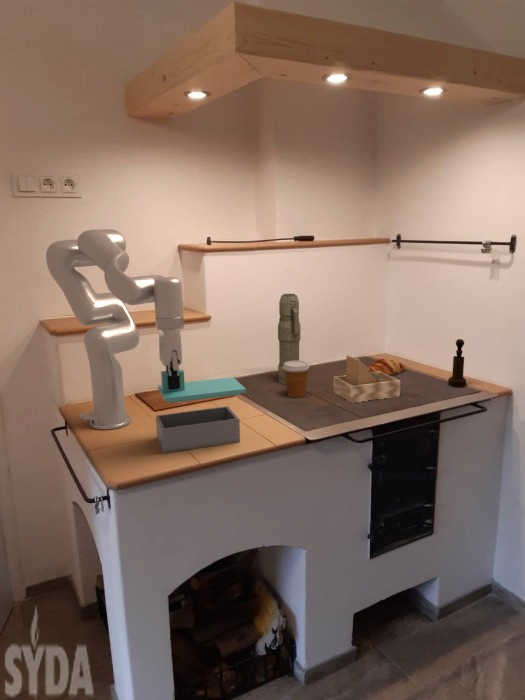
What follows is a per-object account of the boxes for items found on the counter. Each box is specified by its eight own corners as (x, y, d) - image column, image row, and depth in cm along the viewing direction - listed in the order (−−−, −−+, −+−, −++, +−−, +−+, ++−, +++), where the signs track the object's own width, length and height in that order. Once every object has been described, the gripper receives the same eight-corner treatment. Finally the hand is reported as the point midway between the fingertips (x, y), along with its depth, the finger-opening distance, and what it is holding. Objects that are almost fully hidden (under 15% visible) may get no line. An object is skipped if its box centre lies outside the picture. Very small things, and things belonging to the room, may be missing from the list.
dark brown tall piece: (451, 381, 207) (454, 336, 203) (468, 384, 204) (471, 338, 200) (445, 385, 202) (448, 339, 198) (463, 388, 198) (466, 341, 194)
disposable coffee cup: (279, 397, 191) (279, 365, 189) (287, 390, 200) (287, 359, 197) (305, 400, 188) (305, 367, 185) (311, 392, 197) (312, 361, 194)
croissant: (400, 376, 228) (396, 358, 230) (415, 370, 219) (410, 352, 221) (360, 382, 219) (355, 364, 221) (374, 376, 210) (369, 357, 212)
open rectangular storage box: (351, 403, 184) (351, 386, 183) (333, 392, 197) (333, 376, 195) (399, 396, 190) (400, 380, 189) (379, 386, 203) (379, 371, 201)
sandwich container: (394, 395, 193) (396, 355, 189) (358, 401, 187) (359, 360, 183) (380, 388, 200) (381, 350, 197) (345, 394, 194) (346, 355, 191)
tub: (163, 453, 145) (162, 429, 144) (157, 437, 156) (155, 415, 155) (240, 441, 152) (239, 419, 151) (228, 427, 163) (227, 406, 162)
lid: (165, 405, 142) (163, 378, 141) (158, 391, 154) (156, 367, 152) (246, 395, 150) (245, 370, 148) (233, 383, 161) (232, 359, 160)
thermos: (289, 387, 203) (288, 296, 195) (271, 380, 212) (270, 293, 205) (307, 383, 207) (307, 295, 200) (289, 377, 217) (289, 292, 209)
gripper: (151, 319, 151) (155, 381, 155) (160, 329, 136) (164, 397, 140) (177, 317, 153) (180, 378, 157) (189, 327, 138) (192, 394, 142)
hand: (173, 386), depth 149 cm, fingers closed on lid, 2 cm apart
